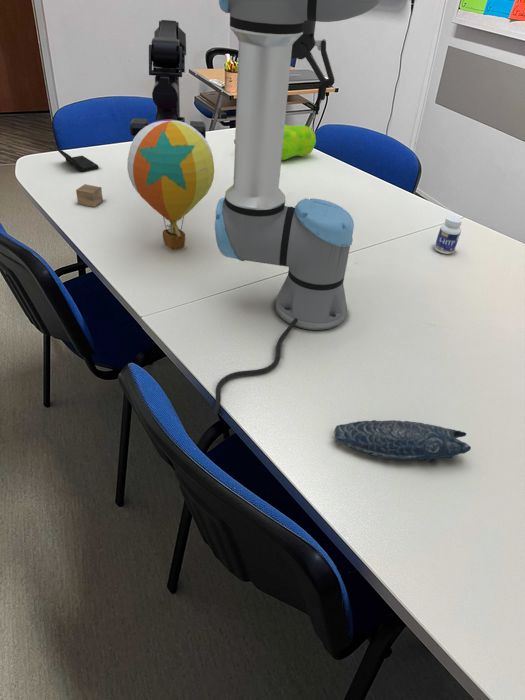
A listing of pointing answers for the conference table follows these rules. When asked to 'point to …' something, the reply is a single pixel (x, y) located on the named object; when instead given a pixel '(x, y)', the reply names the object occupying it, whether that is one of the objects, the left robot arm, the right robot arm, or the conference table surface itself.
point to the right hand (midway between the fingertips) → (290, 110)
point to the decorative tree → (297, 141)
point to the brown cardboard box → (89, 195)
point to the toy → (171, 172)
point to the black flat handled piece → (79, 161)
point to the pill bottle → (448, 235)
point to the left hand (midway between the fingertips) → (169, 162)
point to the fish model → (401, 439)
